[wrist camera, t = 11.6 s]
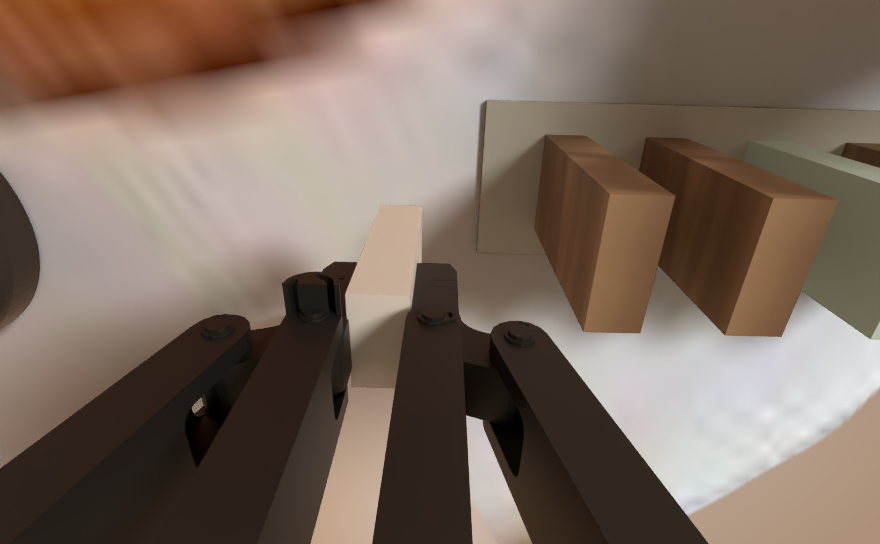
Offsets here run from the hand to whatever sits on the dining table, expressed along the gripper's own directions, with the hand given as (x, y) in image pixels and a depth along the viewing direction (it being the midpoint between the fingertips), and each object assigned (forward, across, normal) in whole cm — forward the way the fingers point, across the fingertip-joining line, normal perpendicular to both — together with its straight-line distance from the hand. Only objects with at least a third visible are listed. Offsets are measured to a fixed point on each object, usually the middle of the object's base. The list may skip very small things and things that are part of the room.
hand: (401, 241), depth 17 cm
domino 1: (+8, +8, 0) cm, 11 cm away
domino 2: (+8, +12, 0) cm, 15 cm away
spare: (+8, +18, 0) cm, 19 cm away
